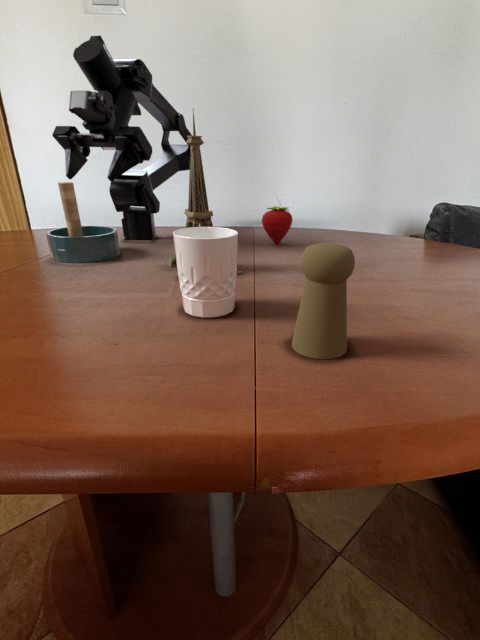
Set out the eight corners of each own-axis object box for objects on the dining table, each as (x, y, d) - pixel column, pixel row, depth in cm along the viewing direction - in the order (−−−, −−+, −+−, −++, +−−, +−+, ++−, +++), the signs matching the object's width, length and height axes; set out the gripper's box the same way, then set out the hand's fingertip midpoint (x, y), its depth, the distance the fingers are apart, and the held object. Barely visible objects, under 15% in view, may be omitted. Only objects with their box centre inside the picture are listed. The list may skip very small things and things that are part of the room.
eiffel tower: (241, 273, 66) (241, 103, 54) (184, 281, 61) (169, 97, 49) (216, 260, 74) (210, 109, 62) (163, 266, 69) (147, 104, 57)
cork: (287, 334, 44) (293, 238, 39) (338, 333, 44) (350, 238, 39) (296, 359, 38) (304, 251, 33) (354, 358, 39) (370, 251, 34)
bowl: (128, 250, 79) (124, 226, 77) (109, 266, 68) (104, 237, 66) (68, 250, 79) (63, 225, 76) (40, 265, 68) (33, 236, 65)
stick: (96, 254, 73) (83, 182, 67) (88, 260, 70) (73, 183, 64) (73, 254, 73) (58, 181, 67) (63, 260, 69) (46, 183, 63)
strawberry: (256, 243, 89) (256, 197, 84) (281, 240, 92) (283, 196, 88) (270, 248, 84) (272, 200, 80) (296, 244, 88) (299, 199, 83)
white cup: (247, 303, 53) (247, 229, 48) (224, 324, 46) (221, 240, 42) (196, 296, 55) (192, 224, 50) (167, 314, 48) (159, 234, 44)
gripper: (46, 75, 69) (14, 143, 66) (135, 72, 65) (105, 145, 61) (85, 126, 80) (59, 187, 76) (163, 127, 75) (140, 192, 71)
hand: (88, 178), depth 71 cm, fingers open, 9 cm apart
